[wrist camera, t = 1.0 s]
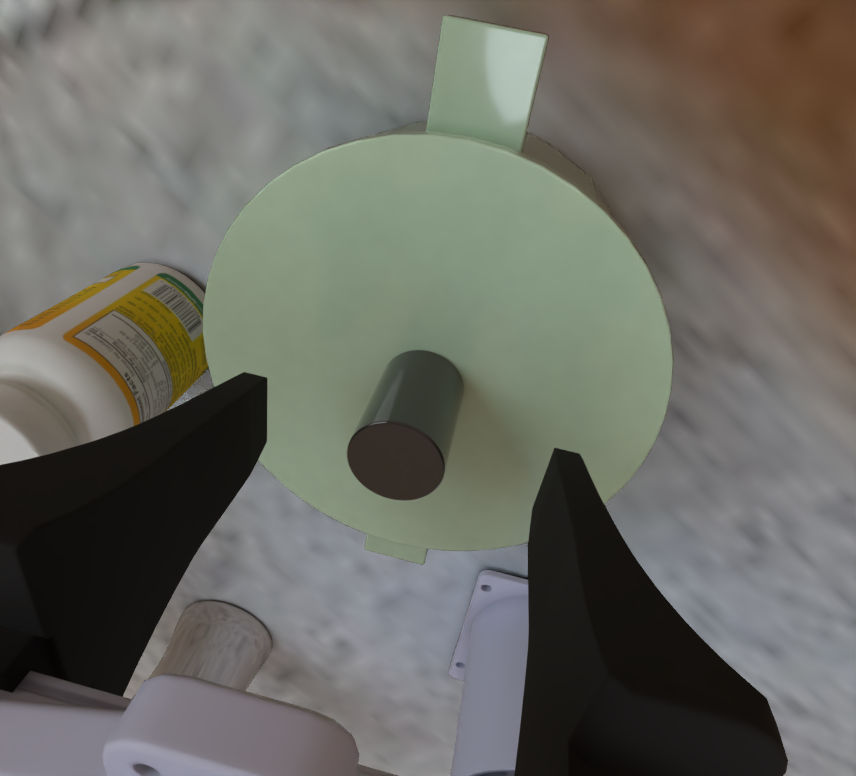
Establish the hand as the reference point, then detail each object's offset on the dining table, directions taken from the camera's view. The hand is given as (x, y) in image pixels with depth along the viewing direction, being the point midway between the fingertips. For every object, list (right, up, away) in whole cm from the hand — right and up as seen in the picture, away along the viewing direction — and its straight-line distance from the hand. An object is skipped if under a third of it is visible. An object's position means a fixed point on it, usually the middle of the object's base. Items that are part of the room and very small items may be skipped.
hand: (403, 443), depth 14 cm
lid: (+1, +2, +3) cm, 3 cm away
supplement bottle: (-11, +4, +11) cm, 16 cm away
